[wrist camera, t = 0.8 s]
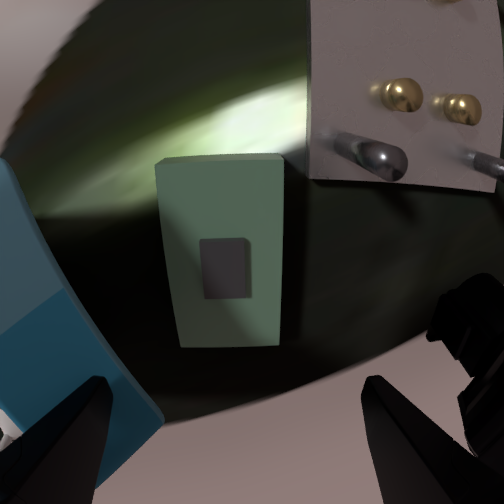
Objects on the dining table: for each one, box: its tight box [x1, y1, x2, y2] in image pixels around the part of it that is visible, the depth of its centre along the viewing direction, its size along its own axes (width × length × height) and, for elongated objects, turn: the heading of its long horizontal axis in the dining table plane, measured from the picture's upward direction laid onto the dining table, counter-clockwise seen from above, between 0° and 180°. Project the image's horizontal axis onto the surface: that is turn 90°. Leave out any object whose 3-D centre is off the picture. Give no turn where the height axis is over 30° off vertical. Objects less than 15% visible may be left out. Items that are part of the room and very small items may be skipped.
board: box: [155, 153, 284, 347], centre depth 16 cm, size 6×10×3 cm, turn 1°
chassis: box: [305, 0, 504, 193], centre depth 9 cm, size 12×16×6 cm
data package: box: [0, 158, 165, 489], centre depth 12 cm, size 12×4×12 cm
